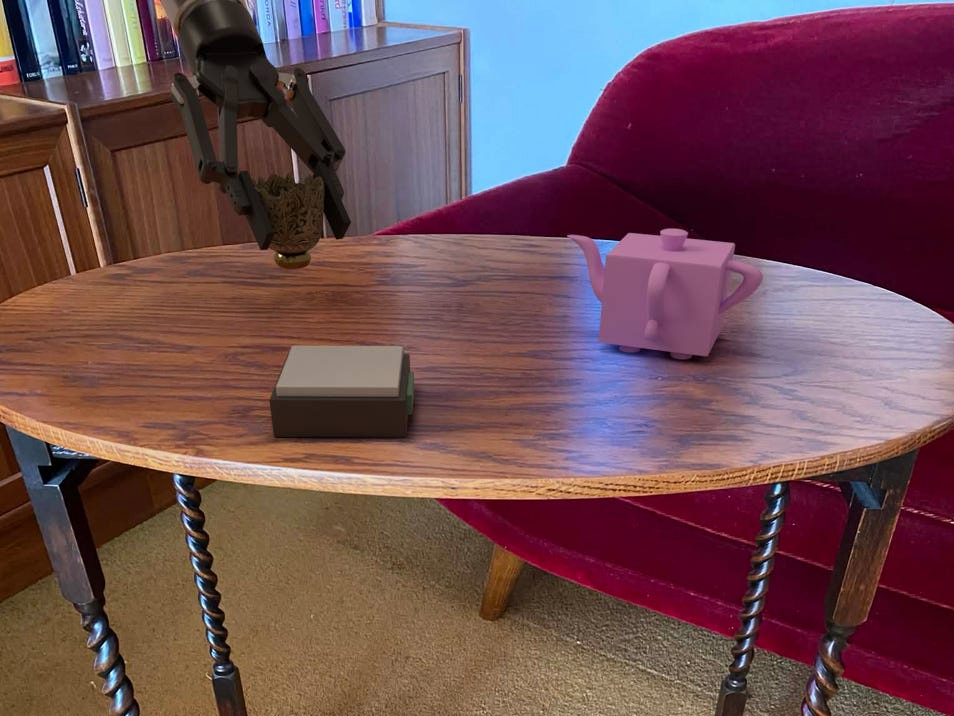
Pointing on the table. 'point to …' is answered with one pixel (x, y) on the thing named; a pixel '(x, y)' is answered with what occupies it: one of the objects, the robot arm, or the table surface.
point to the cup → (293, 216)
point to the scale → (343, 392)
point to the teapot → (665, 291)
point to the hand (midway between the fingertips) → (306, 235)
